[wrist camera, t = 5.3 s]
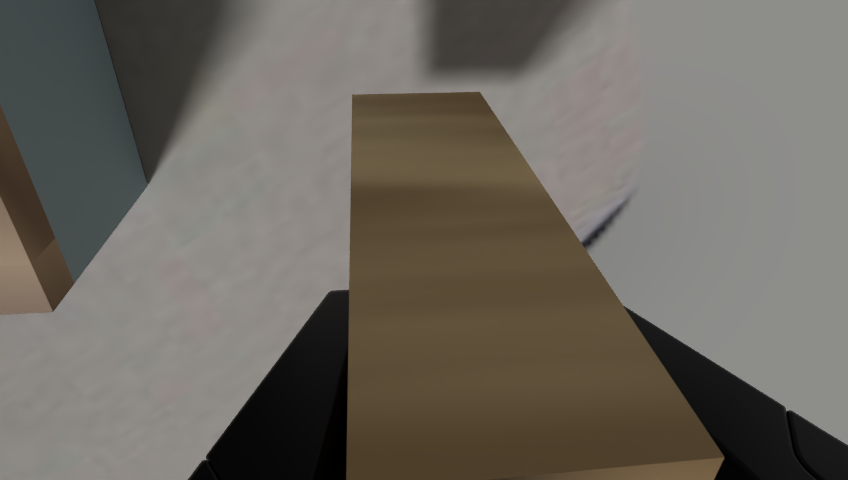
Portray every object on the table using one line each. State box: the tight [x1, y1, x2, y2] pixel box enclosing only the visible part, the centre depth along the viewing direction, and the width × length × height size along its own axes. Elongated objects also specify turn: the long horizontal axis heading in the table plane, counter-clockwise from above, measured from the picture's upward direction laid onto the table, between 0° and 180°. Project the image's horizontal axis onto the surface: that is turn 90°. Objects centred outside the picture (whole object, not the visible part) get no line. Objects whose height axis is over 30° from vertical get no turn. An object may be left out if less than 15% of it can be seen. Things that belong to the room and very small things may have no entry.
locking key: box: [346, 92, 725, 480], centre depth 9 cm, size 3×3×10 cm
